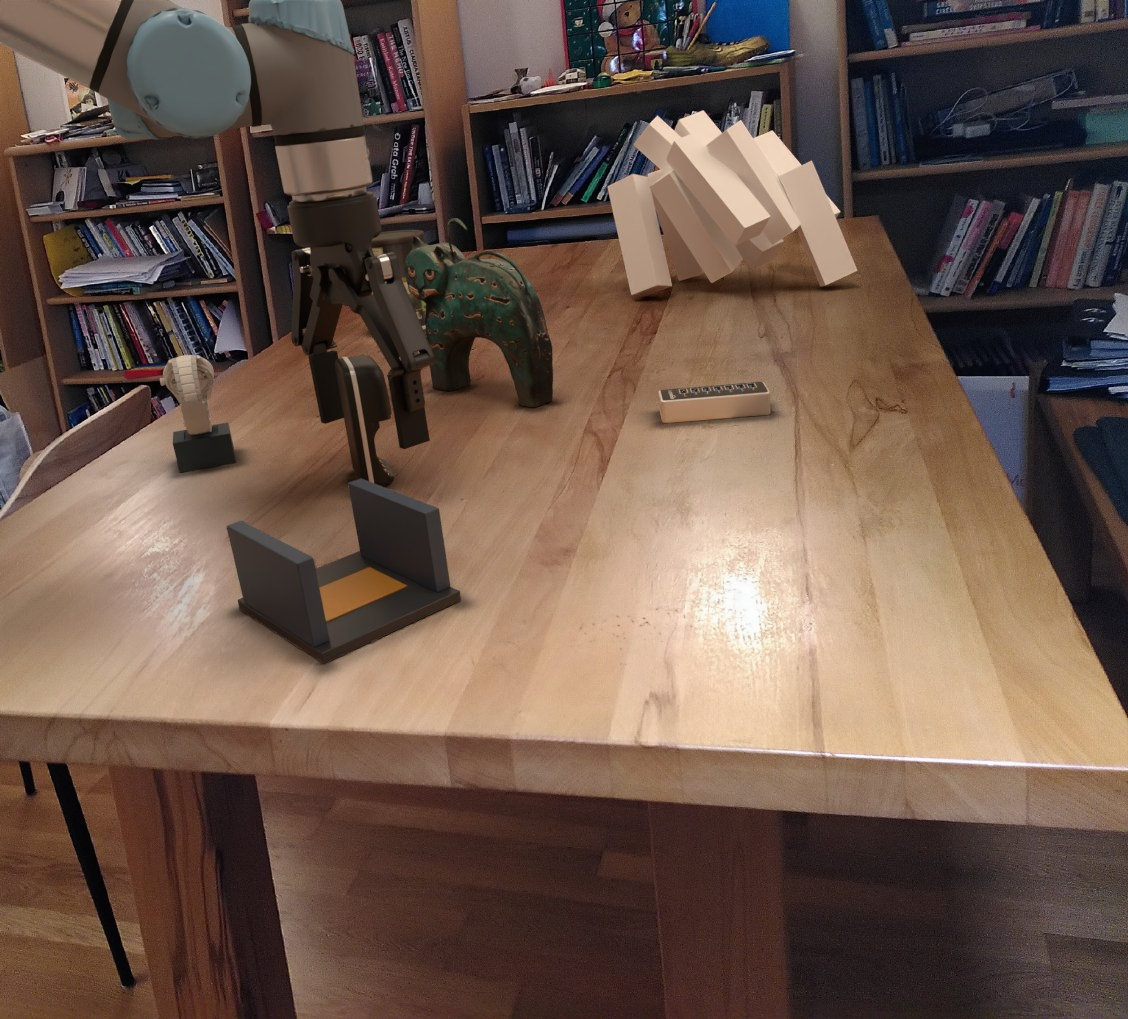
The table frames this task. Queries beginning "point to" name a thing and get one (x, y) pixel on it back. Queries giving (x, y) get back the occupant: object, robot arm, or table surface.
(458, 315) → the ceramic cat
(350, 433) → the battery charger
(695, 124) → the pile of blocks
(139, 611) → the table surface
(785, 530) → the table surface
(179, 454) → the watch
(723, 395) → the multiport hub
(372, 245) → the coffee can
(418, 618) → the cradle
